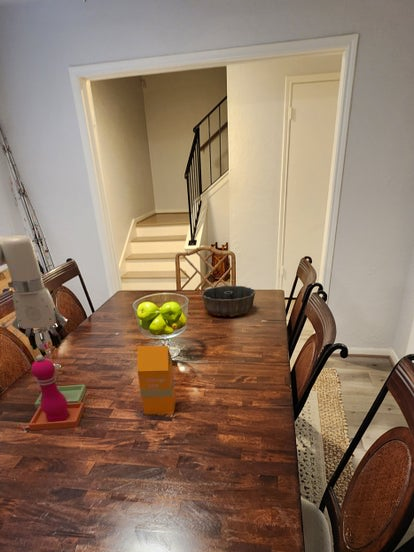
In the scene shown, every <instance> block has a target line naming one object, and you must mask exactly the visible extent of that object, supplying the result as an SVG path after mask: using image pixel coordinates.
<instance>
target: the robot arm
mask: <svg viewBox="0 0 414 552" xmlns="http://www.w3.org/2000/svg"><path fill="white" fill-rule="evenodd" d="M4 265H6V266H7V269H8V273H9V276H10V279H11V281H8V282H7V286H8V288H12V289H13V292H12V301H13V308H14V313H15V319H14V321H13V322H12V323H11V326H12V327H13V328H15V329H16V330H18V331H19V332H20V333H22V334H23V335H24V336H25V337H26V338H27V339H28V342H29V346H31V348H32V350H33V351H36V350H37V349H38V348H37V347H36V345H35V341H34V329H39V328H50V330H51V331H52V333H53V336H52V338H53V341H54V345H55V348H54V349H59V348H60V346H61V345H62V339H61V334H60V332H61V330H63V328H64V326H65V325H66V324H67V322H68V321H69V320H68V319H67V318H66V317H64V316H63V315H62V314H60V312H58V311H57V307H56V305H55V301H54V299H53V297H52V295H51V293H50V290H49V289H48V287H46V286H45V284H44V280H43V275H42V273H41V269H40V268H41V267H40V265H39V260H38V258H37V253H36V250H35V246H34V242H33V239H32V238H31V237H30V236H28V235H24V234H18V235H17V234H15V235H9V236H3V235H0V267H2V266H4ZM58 321H59V324H58V325H57V322H58Z"/></svg>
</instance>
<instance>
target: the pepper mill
mask: <svg viewBox="0 0 414 552" xmlns="http://www.w3.org/2000/svg"><path fill="white" fill-rule="evenodd" d="M35 359H36V361H34V362H33V363H32V364H31V368H30V371H31V374H32V375H33V377H35V378H36V379H35V381H36V383H37V385H39V387H40V390H41V393H42V396H41V409H42V411H43V412H44V413H46V418H47V421H48V422H59V421H64V420H66V419H67V418H68V416H69V412H68V409H67V408H66V407H67V405H68V403H67V400H66V398H65V396H64V395H63V394H62V393H61V392H60V391H59V390H58V388H57V387H58V386H57V383H56V381H57V377H56V374H55V372H56V370H55V366H54V364H55V363H54V362H53V361H52V362H53V363H52V362H51V361H50V359H47V358H45V357H44V356H43V355H42V354H37V356H36V357H35Z"/></svg>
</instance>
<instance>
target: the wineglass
mask: <svg viewBox="0 0 414 552" xmlns="http://www.w3.org/2000/svg"><path fill="white" fill-rule="evenodd" d="M33 333H34V341H35V345H36V347H37V348H36V349H38V350H39V351H41V352H46V354H47V356H48V358H49V360H50V361H51V362H52V363H53V364H54V366H55V371H57V370H59V369H60V368H61V367H62V366H61V364H58V363H54V362H53V360H52V353H51V351H53V350H54V349H56V348H55V345H54V341H53V338H52V336H53V333H52V331H51V330H50V328H49V327H47V328H35V330H33Z"/></svg>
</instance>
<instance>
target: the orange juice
mask: <svg viewBox="0 0 414 552" xmlns="http://www.w3.org/2000/svg"><path fill="white" fill-rule="evenodd" d="M136 358H137V359H136V360H137V361H136V363H137V365H136V368H137V370H136V371H137V377H138V383H139V390H140V398H141V402H142V408H143V414H144V415H174V414H175V408H176V403H177V396H176V386H175V384H176V383H175V377H174V367H173V357H172V356H171V352H170V349H169V345H149V346H148V345H147V346H145V345H144V346H143V345H142V346H137V347H136Z"/></svg>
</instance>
